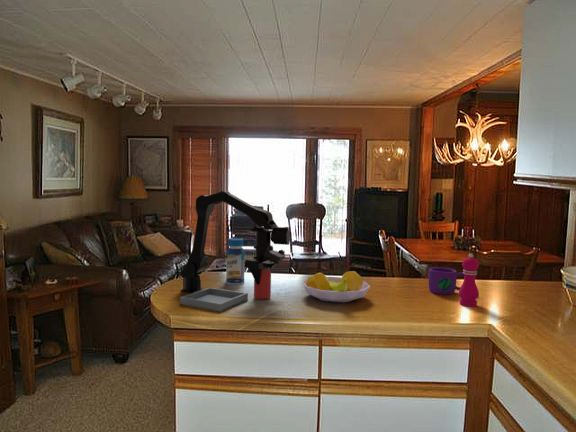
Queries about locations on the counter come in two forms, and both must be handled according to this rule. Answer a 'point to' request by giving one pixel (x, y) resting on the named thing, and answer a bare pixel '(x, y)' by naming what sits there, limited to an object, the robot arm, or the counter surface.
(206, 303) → the tray
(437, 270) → the mug
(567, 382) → the counter surface
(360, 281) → the fruit bowl
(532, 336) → the counter surface
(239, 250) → the beverage bottle
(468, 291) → the pepper mill
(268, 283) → the beer can
